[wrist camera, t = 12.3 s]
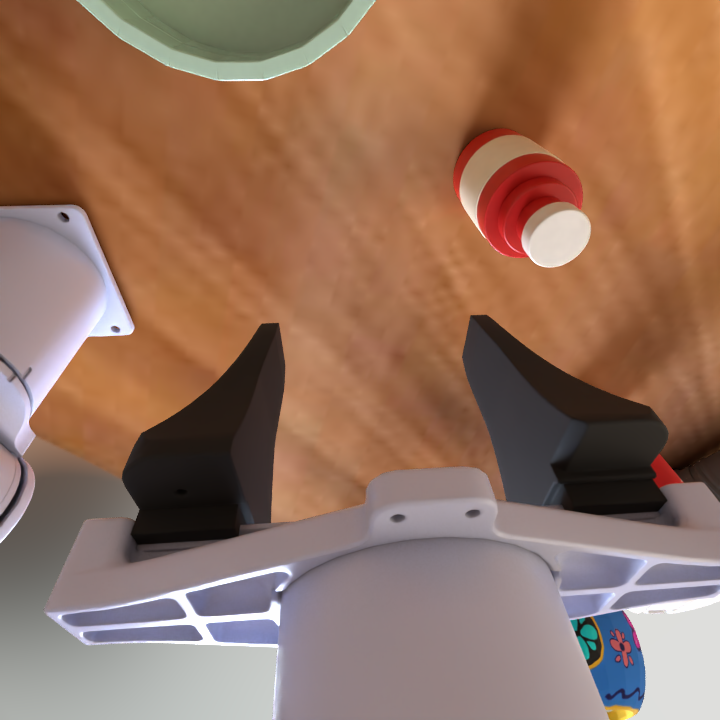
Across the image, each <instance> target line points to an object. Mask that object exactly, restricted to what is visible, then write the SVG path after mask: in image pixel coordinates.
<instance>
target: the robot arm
mask: <svg viewBox="0 0 720 720" xmlns="http://www.w3.org/2000/svg"><path fill="white" fill-rule="evenodd" d="M61 212H63V213H65V214H67V215H68V217H69V219H66V218H64V217H63V216H62V214H61ZM114 326H117V327H119V329H117V328H115V327H114ZM133 330H134V324H133V322H132V319H131V317H130V315H129V312H128V310H127V308H126V305H125V303H124V301H123V298H122V296H121V294H120V291H119V289H118V287H117V284H116V282H115V280H114V277H113V275H112V273H111V270H110V268H109V266H108V263H107V261H106V259H105V256H104V254H103V251H102V249H101V247H100V244H99V242H98V240H97V237H96V235H95V233H94V230H93V228H92V226H91V223H90V221H89V219H88V216H87V214H86V212H85V211H84V210H83V209H82V208H81V207H79V206H77V205H36V206H0V543H1V542H2V541H3V539H4V538H5V537H6V536H7V535H8V534H9V533H10V531H11V530H12V529H13V528H14V526H15V525H16V524H17V523H18V521H19V520H20V518H21V517H22V515H23V513H24V512H25V510H26V508H27V506H28V504H29V502H30V500H31V498H32V494H33V491H34V486H35V477H34V472H33V470H32V468H31V466H30V464H29V463H28V462H26V461H25V460H24V459H23V458H22V456H23V454H24V452H25V451H26V450H27V448H28V447H29V445H30V444H31V442H32V441H33V439H34V438H35V436H36V435H35V434H34V433H33V431H32V430H31V428H30V426H29V419H30V417H31V416H32V415H33V413H34V412H35V410H36V409H37V408H38V406H39V405H40V403H41V402H42V400H43V399H44V398H45V396H46V395H47V393H48V392H49V391H50V389H51V388H52V386H53V385H54V383H55V382H56V381H57V379H58V378H59V376H60V375H61V373H62V372H63V371H64V369H65V368H66V366H67V365H68V364H69V362H70V361H71V359H72V358H73V356H74V355H75V354H76V352H77V351H78V349H79V348H80V347H81V345H82V344H83V342H84V341H85V339H86V338H87V337H89V336H114V335H129V334H131V333H132V332H133ZM462 358H463V363H464V367H465V371H466V375H467V379H468V381H469V384H470V387H471V389H472V391H473V394H474V396H475V399H476V401H477V404H478V406H479V408H480V411H481V413H482V416H483V418H484V420H485V423H486V425H487V428H488V431H489V434H490V437H491V440H492V444H493V448H494V451H495V455H496V458H497V462H498V466H499V470H500V474H501V478H502V482H503V487H504V491H505V496H506V500H507V501H503V500H496V499H495V497H494V494H493V491H492V488H491V485H490V482H489V479H488V476H487V474H485V473H484V472H482V471H481V470H479V469H478V468H473V467H464V466H459V467H442V468H425V469H407V470H395V471H390V472H385V473H382V474H380V475H379V476H377V477H376V478H374V479H372V480H371V481H370V483H369V485H368V487H367V489H366V501H365V504H361V505H357V506H353V507H350V508H346V509H342V510H338V511H334V512H330V513H326V514H323V515H319V516H315V517H311V518H307V519H303V520H299V521H296V522H280V523H271V504H272V481H273V463H274V447H275V439H276V432H277V427H278V421H279V416H280V410H281V404H282V398H283V393H284V383H285V360H284V354H283V347H282V341H281V334H280V328H279V323H266V324H261V325H260V327H259V328H258V330H257V331H256V333H255V334H254V336H253V337H252V339H251V340H250V342H249V343H248V345H247V346H246V347H245V349H244V350H243V351H242V353H241V354H240V355H239V357H238V358H237V359H236V361H235V362H234V363H233V364H232V365H231V366H230V368H229V369H228V370H227V371H226V372H225V373H224V374H223V375H222V376H221V378H220V379H219V380H218V381H217V382H216V383H215V384H213V385H212V386H211V387H210V388H209V389H208V390H207V391H206V392H204V393H203V394H202V395H201V396H199V397H198V398H197V399H196V400H194V401H193V402H192V403H191V404H189V405H188V406H186V407H185V408H184V409H182V410H181V411H179V412H178V413H176V414H175V415H173V416H171V417H170V418H168V419H167V420H165V421H163V422H161V423H159V424H158V425H156V426H154V427H152V428H150V429H148V430H147V431H145V432H143V433H141V435H140V437H139V438H138V440H137V442H136V444H135V445H134V447H133V449H132V451H131V454H130V456H129V459H128V461H127V463H126V466H125V468H124V470H123V474H122V480H123V483H124V485H125V487H126V489H127V490H128V492H129V493H130V495H131V496H132V498H133V500H134V501H135V503H136V504H137V506H138V508H139V509H140V510H139V513H138V516H137V518H136V521H134V520H132V519H130V518H124V517H118V518H102V519H88V520H86V521H84V523H83V525H82V528H81V530H80V532H79V534H78V536H77V538H76V540H75V543H74V545H73V547H72V549H71V551H70V554H69V556H68V558H67V560H66V562H65V564H64V567H63V569H62V571H61V573H60V575H59V577H58V580H57V582H56V584H55V586H54V588H53V590H52V593H51V595H50V597H49V599H48V601H47V604H46V606H45V608H44V612H45V614H46V615H48V616H49V617H50V618H52V619H53V620H54V621H56V622H57V623H58V624H59V625H61V626H62V627H63V628H64V629H66V630H67V631H68V632H70V633H71V634H72V635H74V636H75V637H76V638H77V639H79V640H80V641H81V642H83V643H84V644H85V645H97V644H115V643H187V644H214V645H240V646H267V647H269V646H270V647H278V648H277V662H276V676H275V690H274V704H273V720H609V717H608V714H607V712H606V709H605V707H604V704H603V702H602V699H601V697H600V694H599V692H598V689H597V687H596V684H595V682H594V679H593V677H592V674H591V672H590V669H589V667H588V664H587V662H586V659H585V657H584V654H583V652H582V649H581V647H580V644H579V642H578V639H577V637H576V634H575V631H574V629H573V626H572V624H571V621H570V620H575V619H580V618H585V617H590V616H596V615H601V614H606V613H611V612H617V611H622V610H627V609H633V608H638V607H644V606H650V605H656V604H663V603H670V602H677V601H685V600H696V599H706V598H715V597H716V596H718V595H719V594H720V502H719V501H718V500H717V498H716V497H715V496H714V495H713V493H712V492H711V491H710V490H709V488H708V487H707V486H706V485H705V483H703V482H691V483H675V484H668V485H665V486H662V487H660V488H659V487H658V486H657V485H656V483H655V482H654V480H653V479H655V478H656V477H657V475H656V472H655V471H654V469H653V468H652V467H651V464H652V463H653V461H654V460H655V459H656V457H657V456H658V454H659V453H660V452H661V450H662V449H663V448H664V446H665V444H666V442H667V440H668V434H669V432H668V430H667V428H666V426H665V425H664V424H663V422H662V421H661V420H660V419H659V417H658V416H657V415H656V414H655V412H654V411H653V410H652V409H651V408H650V407H649V406H646V405H643V404H640V403H636V402H633V401H630V400H627V399H624V398H621V397H618V396H616V395H613V394H611V393H608V392H606V391H603V390H601V389H598V388H596V387H594V386H591V385H589V384H587V383H585V382H583V381H581V380H579V379H577V378H575V377H573V376H571V375H569V374H567V373H565V372H564V371H562V370H560V369H559V368H557V367H555V366H554V365H552V364H550V363H549V362H547V361H546V360H544V359H543V358H541V357H540V356H538V355H537V354H535V353H534V352H533V351H531V350H530V349H528V348H527V347H526V346H525V345H523V344H522V343H521V342H519V341H518V340H517V339H516V338H514V337H513V336H512V335H511V334H509V333H508V332H507V331H506V330H505V329H503V328H502V327H501V326H500V325H499V324H497V323H496V322H495V321H494V320H493V319H491V318H490V317H489V316H487V315H471V317H470V321H469V326H468V331H467V336H466V341H465V346H464V351H463V356H462Z"/></svg>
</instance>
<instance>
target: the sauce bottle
mask: <svg viewBox="0 0 720 720" xmlns="http://www.w3.org/2000/svg"><path fill="white" fill-rule="evenodd" d="M453 183H454V189H455V192H456V195H457V197H458V198H459V200H460V201H461V203H462V205H463V207H464V209H465V210H466V212H467V213H468V215H469V216H470V218H471V219H472V221H473V222H474V224H475V225H476V226H477V228H478V229H479V231H480V232H481V234H482V235H483V236H484V237H485V238H486V239H487V240H488V242H489V243H490V245H491V246H492V247H493V248H494V249H495V250H496V251H498V252H499V253H501V254H503V255H506V256H509V257H515V258H523V257H530V258H531V259H532V261H533V262H534V263H536V264H538V265H540V266H543V267H557V266H560V265H563V264H566V263H568V262H569V261H571V260H572V259H574V258H575V257H576V256H577V255H579V254H580V252H581V251H582V250H583V249H584V247H585V246H586V244H587V242H588V240H589V237H590V233H591V224H590V221H589V219H588V217H587V216H586V214H584V213H583V212H582V211H581V207H582V201H583V191H582V185H581V182H580V180H579V178H578V176H577V174H576V173H575V172H574V171H573V170H572V169H571V168H570V167H569V166H567V165H566V164H564V163H563V162H562V161H561V160H560V159H559V158H558V157H556V156H555V155H553V154H552V153H550V152H549V151H547V150H546V149H544V148H543V147H541V146H539V145H538V144H536V143H535V142H533V141H532V140H530V139H529V138H526V137H524V136H522V135H521V134H519V133H517V132H516V131H513V130H510V129H502V128H501V129H494V130H490V131H487V132H484V133H483V134H481V135H479V136H477V137H476V138H475V139H473V140H472V141H471V142H470V143H469V144H468V145H467V146H466V147H465V149H464V150H463V151H462V153H461V155H460V156H459V158H458V160H457V163H456V166H455V169H454V176H453Z"/></svg>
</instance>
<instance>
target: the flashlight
mask: <svg viewBox="0 0 720 720" xmlns="http://www.w3.org/2000/svg"><path fill="white" fill-rule="evenodd" d="M674 472H675V473H676V474H677V475H678V476H679V478H680V479H681V480H682V481H683V482H684V483H691V482H703V483H705V485H706V486H707V487H708V488H709V490H710V491H711V492H712V493H713V495H714V496H715V497H716V498H717V500H718V501H719V502H720V450H719V451H717V452H716V453H714V454H712V455H710V456H709V457H707V458H702V459H700V461H697V462H695V464H694V466H691V465H689V466H687V467H686V468H684V469H682V470H674Z"/></svg>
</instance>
